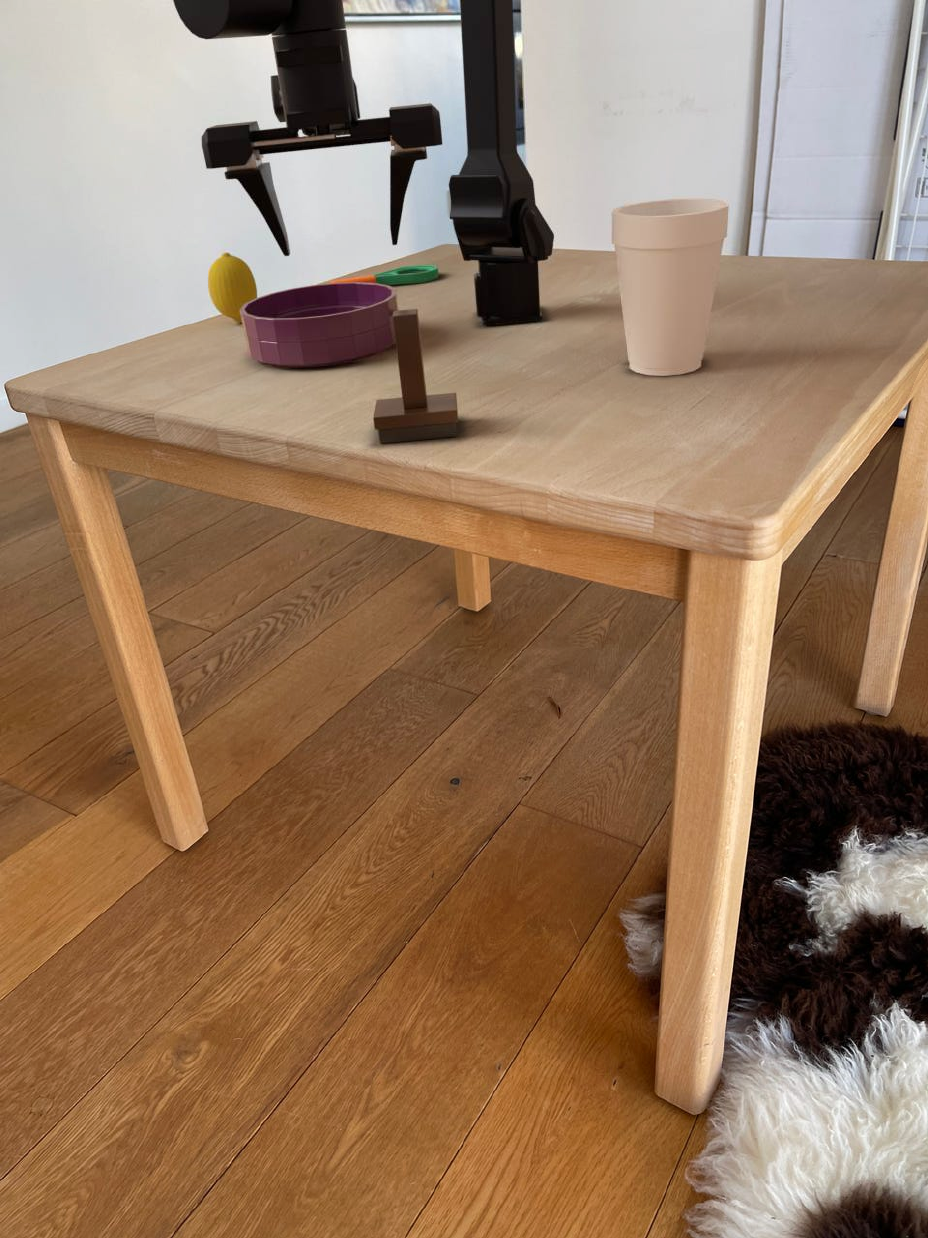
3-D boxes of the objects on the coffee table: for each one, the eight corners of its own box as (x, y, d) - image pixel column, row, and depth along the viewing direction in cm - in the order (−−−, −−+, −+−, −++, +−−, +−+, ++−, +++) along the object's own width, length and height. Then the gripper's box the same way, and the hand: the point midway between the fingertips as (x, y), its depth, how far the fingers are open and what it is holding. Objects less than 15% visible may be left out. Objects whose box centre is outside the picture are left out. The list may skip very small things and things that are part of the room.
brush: (458, 418, 75) (447, 301, 70) (459, 437, 71) (448, 315, 66) (380, 425, 75) (364, 309, 70) (376, 445, 71) (359, 323, 66)
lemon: (252, 327, 108) (237, 255, 104) (208, 329, 110) (193, 258, 105) (269, 316, 113) (256, 246, 109) (228, 317, 114) (213, 249, 110)
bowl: (403, 323, 104) (398, 276, 102) (400, 362, 90) (393, 309, 88) (262, 336, 104) (253, 290, 102) (238, 377, 91) (227, 325, 88)
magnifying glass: (426, 272, 128) (425, 259, 128) (446, 278, 124) (445, 264, 123) (325, 291, 123) (323, 278, 122) (341, 298, 118) (339, 284, 117)
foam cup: (654, 388, 77) (657, 220, 70) (591, 364, 84) (589, 211, 78) (742, 365, 80) (753, 203, 74) (674, 344, 88) (679, 195, 81)
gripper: (429, 24, 77) (447, 224, 85) (207, 46, 77) (246, 244, 85) (431, 19, 68) (451, 244, 76) (178, 45, 68) (226, 267, 76)
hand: (341, 249), depth 79 cm, fingers open, 9 cm apart
